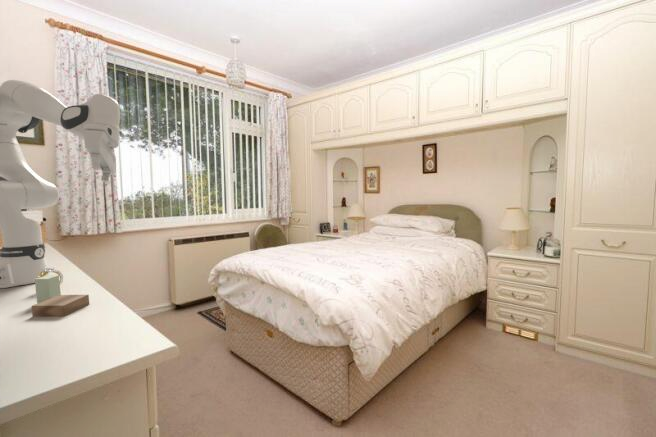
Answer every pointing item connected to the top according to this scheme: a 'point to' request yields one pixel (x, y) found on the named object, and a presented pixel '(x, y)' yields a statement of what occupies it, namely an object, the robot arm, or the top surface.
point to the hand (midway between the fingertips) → (100, 175)
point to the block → (47, 287)
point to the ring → (51, 271)
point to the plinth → (60, 305)
